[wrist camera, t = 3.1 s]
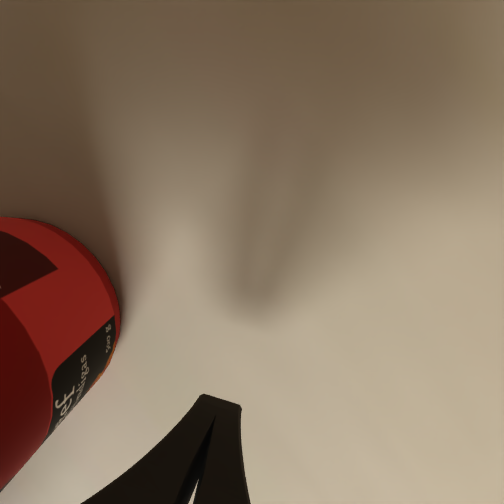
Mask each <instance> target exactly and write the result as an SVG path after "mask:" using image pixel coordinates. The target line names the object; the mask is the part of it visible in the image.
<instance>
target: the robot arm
mask: <svg viewBox="0 0 504 504" xmlns="http://www.w3.org/2000/svg"><path fill="white" fill-rule="evenodd" d="M241 411H242V408H241V406H240V405H238V404H235V403H232V402H229V401H226V400H222V399H219V398H216V397H213V396H210V395H206V394H202V395H200V396H199V398H198V399H197V401H196V402H195V403H194V405H193V406H192V407H191V409H190V410H189V411H188V412H187V414H186V415H185V416H184V417H183V418H182V419H181V421H180V422H179V423H178V424H177V425H176V426H175V427H174V428H173V429H172V430H171V431H170V432H169V433H168V434H167V435H166V436H165V437H164V438H163V439H162V440H161V441H160V442H159V443H158V444H157V445H156V446H155V447H154V448H153V449H152V450H150V451H149V452H148V453H147V454H146V455H145V456H144V457H143V458H142V459H140V460H139V461H138V462H137V463H136V464H135V465H133V466H132V467H131V468H130V469H128V470H127V471H126V472H125V473H123V474H122V475H121V476H119V477H118V478H117V479H116V480H114V481H113V482H111V483H110V484H109V485H107V486H106V487H104V488H103V489H102V490H100V491H99V492H97V493H96V494H95V495H93V496H92V497H90V498H89V499H87V500H86V501H84V502H83V503H81V504H188V503H189V501H190V498H191V496H192V494H193V491H194V489H195V486H196V484H197V482H198V484H197V488H196V493H195V497H194V502H193V504H251V503H250V498H249V494H248V488H247V483H246V477H245V471H244V463H243V455H242V445H241ZM198 479H199V480H198Z"/></svg>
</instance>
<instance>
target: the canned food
mask: <svg viewBox="0 0 504 504" xmlns="http://www.w3.org/2000/svg"><path fill="white" fill-rule="evenodd" d="M119 331H120V312H119V304H118V301H117V297H116V294H115V290H114V288H113V286H112V284H111V282H110V280H109V278H108V276H107V273H106V272H105V270H104V269H103V268H102V266H101V265H100V263H99V262H98V261H97V259H96V258H95V257H94V256H93V255H92V254H91V253H90V251H89V250H88V249H87V248H86V247H85V246H84V245H83V244H82V243H80V242H79V241H77V240H76V239H75V238H73V237H72V236H71V235H69V234H68V233H66V232H64V231H62V230H60V229H58V228H56V227H54V226H52V225H50V224H46V223H43V222H40V221H36V220H30V219H21V218H9V217H0V492H1V491H2V490H3V489H4V488H5V486H6V485H7V484H8V483H9V482H10V481H11V479H12V478H13V477H14V476H15V475H16V474H17V473H18V471H19V470H20V469H21V468H22V467H23V466H24V464H25V463H26V462H27V461H28V460H29V459H30V458H31V456H32V455H33V454H34V453H35V452H36V451H37V450H38V448H39V447H40V446H41V445H42V444H43V443H44V441H45V440H46V439H47V438H48V437H49V436H50V435H51V433H52V432H53V431H54V430H55V429H56V428H57V426H58V425H59V424H60V423H61V422H62V421H63V420H64V418H65V417H66V416H67V415H68V414H69V413H70V412H71V410H72V409H73V408H74V407H75V406H76V405H77V403H78V402H79V401H80V400H81V399H82V398H83V397H84V395H85V394H86V393H87V392H88V391H89V390H90V388H91V387H92V386H93V385H94V384H95V383H96V382H97V380H98V379H99V378H100V377H101V376H102V374H103V373H104V371H105V370H106V368H107V367H108V365H109V363H110V361H111V358H112V355H113V353H114V350H115V347H116V344H117V341H118V338H119Z"/></svg>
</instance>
